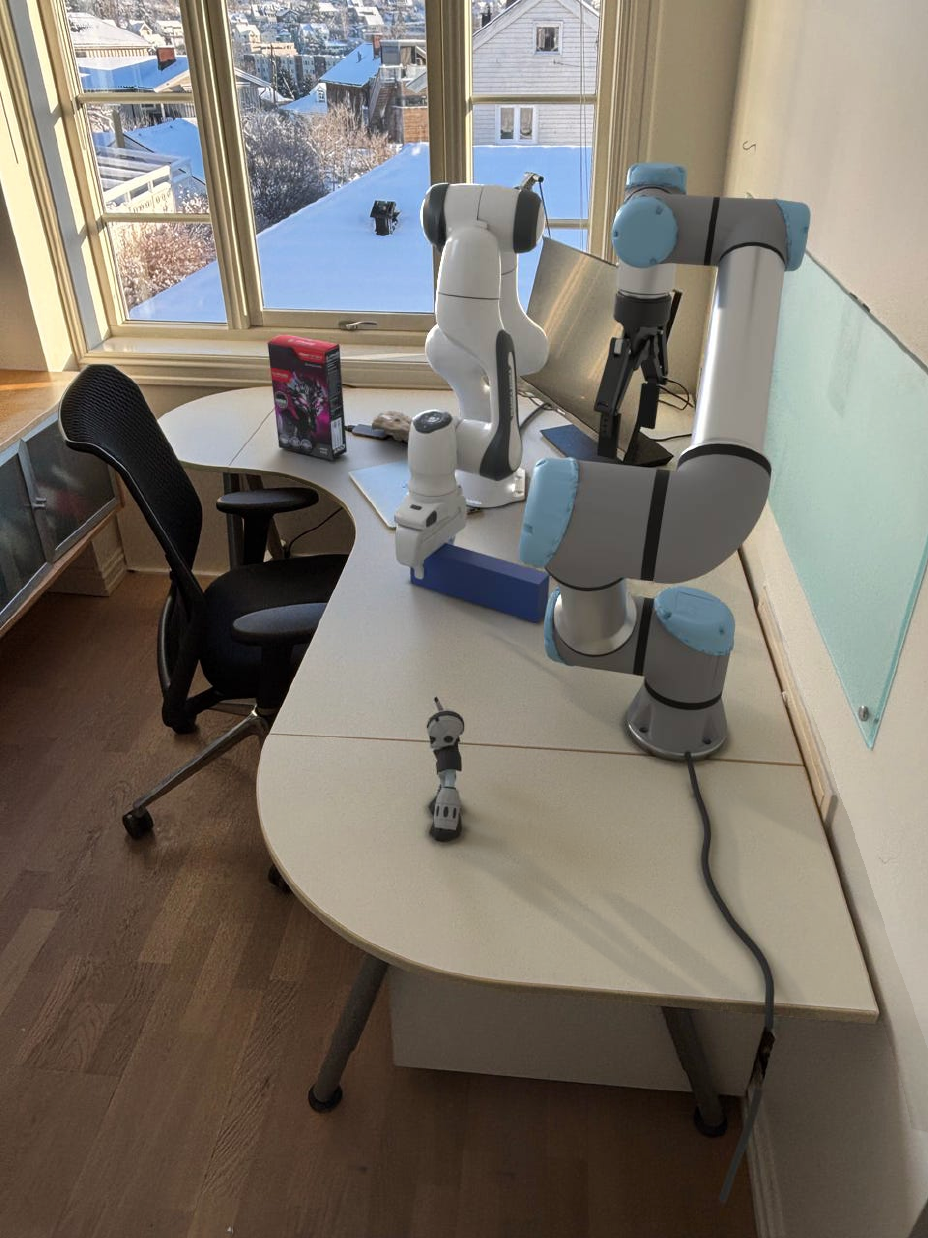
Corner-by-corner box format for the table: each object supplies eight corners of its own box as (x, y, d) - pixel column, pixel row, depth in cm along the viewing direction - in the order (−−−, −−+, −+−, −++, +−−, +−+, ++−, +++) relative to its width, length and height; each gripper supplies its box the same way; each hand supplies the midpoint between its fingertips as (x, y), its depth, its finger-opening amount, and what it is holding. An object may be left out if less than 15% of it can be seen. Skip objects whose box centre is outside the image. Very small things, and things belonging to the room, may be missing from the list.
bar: (547, 611, 171) (549, 573, 166) (536, 623, 168) (538, 584, 163) (422, 572, 182) (422, 535, 177) (410, 582, 179) (409, 545, 174)
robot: (467, 874, 119) (468, 759, 108) (429, 876, 119) (427, 760, 108) (460, 769, 135) (460, 659, 124) (426, 770, 135) (424, 660, 124)
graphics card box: (276, 448, 231) (264, 340, 216) (293, 439, 236) (282, 332, 221) (333, 462, 225) (324, 351, 209) (349, 452, 230) (341, 343, 214)
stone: (355, 434, 231) (360, 411, 228) (377, 426, 244) (381, 404, 242) (433, 459, 227) (439, 435, 225) (451, 449, 241) (456, 426, 238)
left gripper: (447, 476, 178) (447, 540, 185) (388, 518, 163) (390, 585, 170) (475, 483, 175) (474, 547, 183) (418, 526, 160) (419, 594, 168)
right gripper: (654, 270, 134) (638, 410, 145) (576, 307, 116) (564, 463, 128) (704, 277, 130) (683, 420, 142) (631, 316, 113) (613, 476, 124)
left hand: (433, 566), depth 176 cm, fingers open, 8 cm apart
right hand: (626, 441), depth 135 cm, fingers open, 13 cm apart
